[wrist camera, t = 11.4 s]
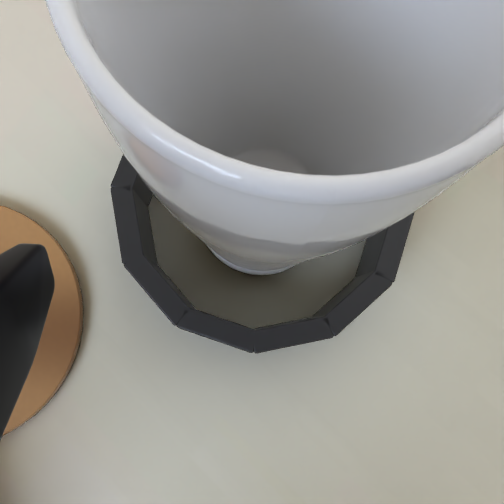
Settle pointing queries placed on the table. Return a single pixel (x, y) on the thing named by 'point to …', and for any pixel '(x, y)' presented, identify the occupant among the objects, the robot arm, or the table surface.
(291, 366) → the table surface
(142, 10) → the drinking glass
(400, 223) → the ring
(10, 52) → the table surface
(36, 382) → the coaster
